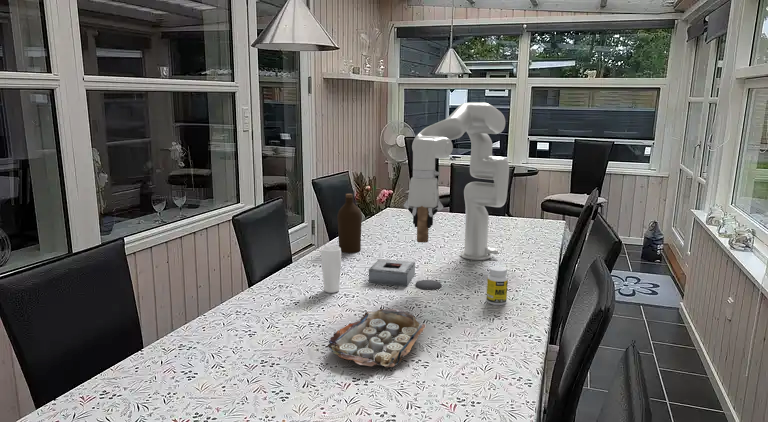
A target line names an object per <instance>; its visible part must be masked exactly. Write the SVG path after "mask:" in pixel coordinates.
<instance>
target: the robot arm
mask: <svg viewBox="0 0 768 422" xmlns="http://www.w3.org/2000/svg"><path fill="white" fill-rule="evenodd" d="M505 127H506V118H505V116H504V114H503V113H502V111H500V110H499V109H497V108H496V107H495V106H493V105H492V104H489V103H487V102H465V103H462V104H460V105H458V106H457V108H455V110H453V112H452V113H451V114H450V115H448V116H447V118H445V119H442V120H440V121H438V122H435V123H433V124H430V125H429V126H426V127H425V128H423V129H422V130H420V132H419V133H418V134H416V136H415V137H414V139H413V141H412V145H411V149H412V177H411V178H410V181H409V187H408V196H407V197H408V198H407V200H406V201H405V202H404V204H403V208H404V209H407V210H408V212H409V213H410V214H411V215H412V224H413V225H414V228H417V207H421V206H423V207H425V208H428V211H429V217H428V228H429V229H430V228H431V227H432V226H433V225H434V216H435V214H437V213H438V212H440V211H441V210H443V209H444V205H443V204H442V201H440V194H439V192H440V191H439V180H438V178H437V176H440V171H437V170H436V159H446V158H448V157H449V156H451V154H452V152H453V149H454V145H453V142H452V140H453V141H454V140H457V139H460V138H461V137H463V136H464V134H465V133H466V134H467V135H468V137H469V140H470V143H471V145H470V146H471V147H470V149H471V150H470V161H469V174H470V176H471V177H473V178H475V179H480V180H481V179H482V180H490V181H493V183H492V182H483V181H471V182H469V183H467V184H466V185H465V187H464V189H463V197H464V204H465V206H464V207H465V218H464V219H465V224H464V226H465V227H464V248H463V249H464V250H463V251H460V257H461V258H463V259H466V260H473V261H484V260H489V259H490V258H491V257H492V254H493V255H499V249H496V248H490V247H489V244H488V239H489V222H490V221H489V220H490V218H489V217H490V216H489V212H488V210H487V208H486V207H492V208H502V207H503V206H504V205H505V204H506V202H507V198H508V189H509V180H510V179H509V176H510V164H509V161H508V160H507V159H506V158H505V157H503V156H496V155H493V142H492V138H491V137H490V134H491V135H497V134H498V135H499V134H501V133H502V132H503V131H504V129H505Z"/></svg>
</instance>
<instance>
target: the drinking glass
mask: <svg viewBox="0 0 768 422" xmlns="http://www.w3.org/2000/svg"><path fill="white" fill-rule="evenodd" d="M320 261H321V263H320V264H321V272H322V279H323V291H324V292H325V293H329V294H333V293H337V292H339V291H340V289H341V287H340V284H341V283H340V282H341V270H342V269H341V268H342V252H341V248H340V247H339V246H338V245H337V246H336V245H328V246H323V247H321V250H320Z"/></svg>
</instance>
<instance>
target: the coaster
mask: <svg viewBox="0 0 768 422" xmlns="http://www.w3.org/2000/svg"><path fill="white" fill-rule="evenodd" d="M441 287H442V283H441V282H440V281H437V280H434V279H421V280H417V281H416V282H415V288H417V289H420V290H427V291H432V290H433V291H435V290H438V289H440V288H441Z"/></svg>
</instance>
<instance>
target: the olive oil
mask: <svg viewBox="0 0 768 422" xmlns="http://www.w3.org/2000/svg"><path fill="white" fill-rule="evenodd" d="M344 199H345V203H344V204H343V205H341V207H340V209H339V210H338V212H337V216H336V218H337V219H336V221H337V231H338V233H337V235H338V247H340V248H341V253H344V254H354V253H359V252H360V251H361V249H362V248H361V246H362V245H361V244H362V242H361V241H362V223H363V222H362V221H363V216H362V211H361V210H360V208H359V207H358V206H357V205H356V203H354V194H353V193H345V198H344Z"/></svg>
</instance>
